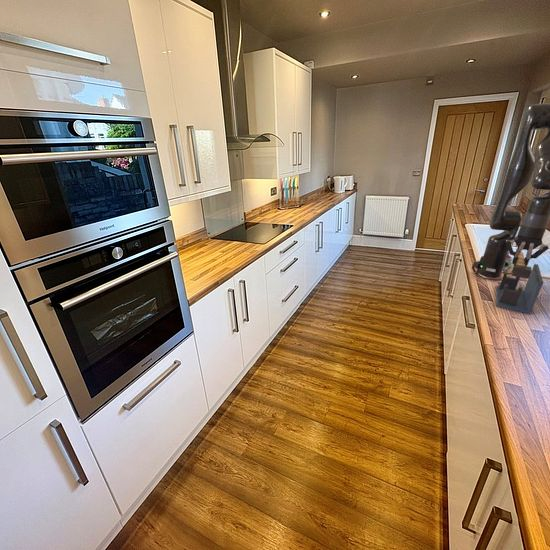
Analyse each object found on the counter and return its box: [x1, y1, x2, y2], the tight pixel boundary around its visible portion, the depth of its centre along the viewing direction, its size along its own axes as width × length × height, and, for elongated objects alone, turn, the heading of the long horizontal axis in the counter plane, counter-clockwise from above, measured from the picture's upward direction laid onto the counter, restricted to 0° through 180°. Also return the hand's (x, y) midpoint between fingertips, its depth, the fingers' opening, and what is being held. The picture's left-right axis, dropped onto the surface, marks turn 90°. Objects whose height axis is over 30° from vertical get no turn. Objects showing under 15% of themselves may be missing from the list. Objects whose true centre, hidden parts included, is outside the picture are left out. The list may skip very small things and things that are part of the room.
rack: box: [495, 263, 544, 315], centre depth 122 cm, size 20×11×14 cm, turn 145°
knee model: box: [503, 253, 514, 272], centre depth 157 cm, size 9×8×25 cm
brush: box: [511, 251, 532, 280], centre depth 117 cm, size 22×5×3 cm, turn 145°
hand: (518, 265), depth 118 cm, fingers closed on brush, 2 cm apart
